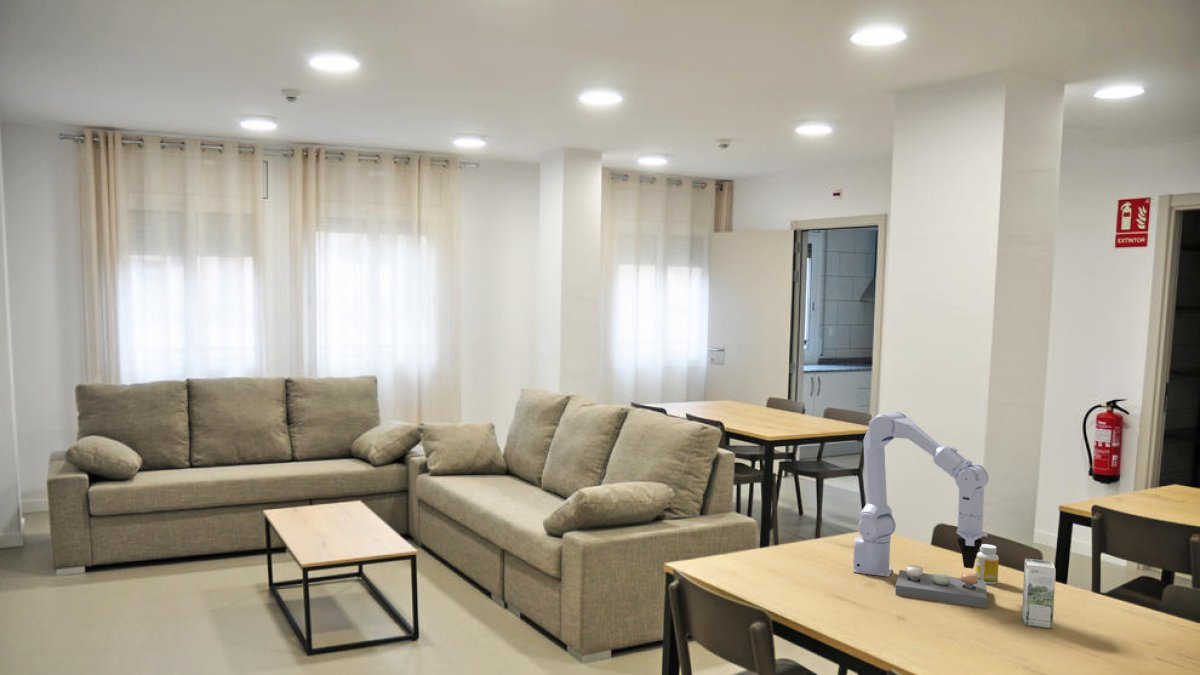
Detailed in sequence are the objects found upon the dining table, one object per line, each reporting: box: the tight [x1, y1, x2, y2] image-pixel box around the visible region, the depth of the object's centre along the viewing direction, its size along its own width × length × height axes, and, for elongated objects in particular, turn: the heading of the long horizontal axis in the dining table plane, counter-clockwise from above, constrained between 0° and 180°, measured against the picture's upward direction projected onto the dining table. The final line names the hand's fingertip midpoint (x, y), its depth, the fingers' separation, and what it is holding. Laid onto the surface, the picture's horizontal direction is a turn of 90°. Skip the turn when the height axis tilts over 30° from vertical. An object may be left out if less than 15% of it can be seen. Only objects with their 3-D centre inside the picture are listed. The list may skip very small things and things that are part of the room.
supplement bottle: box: [975, 543, 1000, 585], centre depth 228 cm, size 5×5×10 cm
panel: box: [895, 569, 988, 609], centre depth 217 cm, size 21×14×2 cm, turn 67°
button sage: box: [933, 573, 951, 586], centre depth 217 cm, size 4×4×4 cm
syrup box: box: [1021, 558, 1057, 630], centre depth 197 cm, size 6×6×14 cm
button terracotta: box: [960, 572, 978, 589], centre depth 215 cm, size 4×4×4 cm
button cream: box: [905, 564, 924, 582], centre depth 220 cm, size 4×4×4 cm
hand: (968, 567), depth 215 cm, fingers closed
